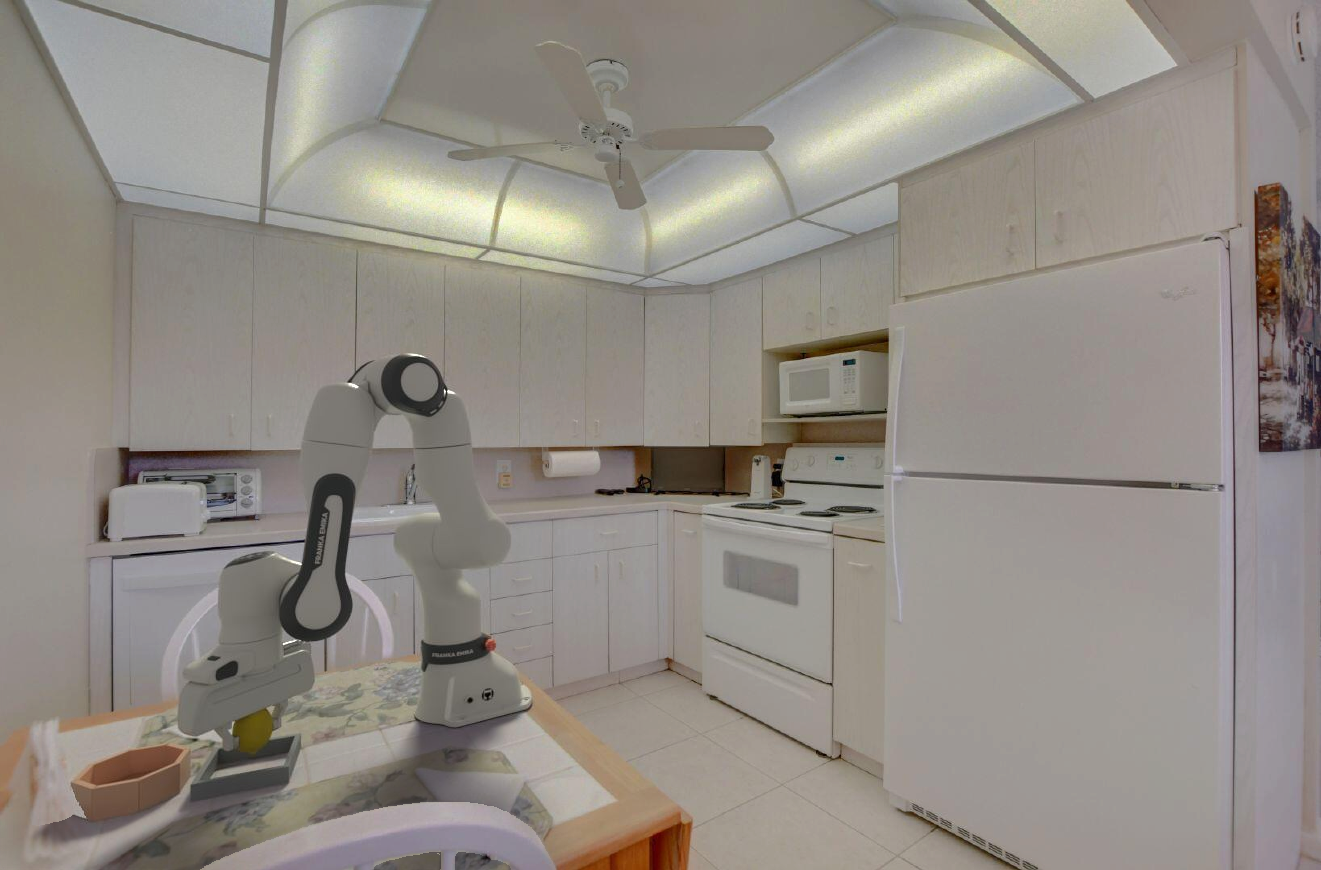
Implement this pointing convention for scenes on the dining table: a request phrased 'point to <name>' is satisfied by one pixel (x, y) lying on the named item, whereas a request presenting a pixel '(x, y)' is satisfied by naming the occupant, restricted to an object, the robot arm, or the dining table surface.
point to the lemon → (253, 731)
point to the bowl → (132, 780)
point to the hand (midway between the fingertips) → (253, 738)
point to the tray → (247, 780)
